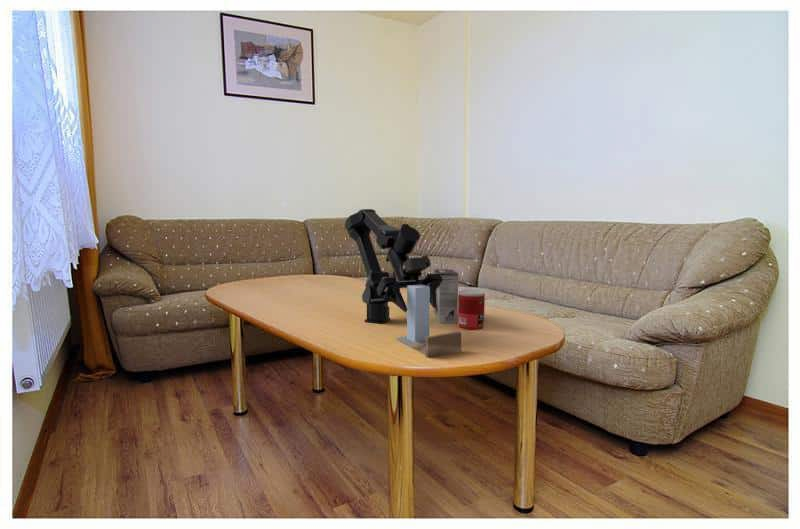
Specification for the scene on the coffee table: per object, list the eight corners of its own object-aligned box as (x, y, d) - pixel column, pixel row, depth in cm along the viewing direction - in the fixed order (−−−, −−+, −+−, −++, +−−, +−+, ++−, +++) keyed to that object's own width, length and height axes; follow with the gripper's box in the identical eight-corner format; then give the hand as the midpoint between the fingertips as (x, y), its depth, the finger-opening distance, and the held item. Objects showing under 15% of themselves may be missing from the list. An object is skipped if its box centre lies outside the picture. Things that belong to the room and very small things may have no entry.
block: (407, 338, 131) (407, 285, 129) (421, 336, 133) (421, 284, 131) (415, 342, 127) (415, 288, 125) (429, 340, 129) (429, 286, 127)
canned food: (483, 330, 140) (484, 294, 139) (456, 329, 142) (457, 293, 141) (484, 324, 148) (485, 290, 146) (458, 323, 149) (459, 289, 148)
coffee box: (433, 316, 158) (434, 269, 156) (452, 316, 159) (453, 269, 157) (438, 323, 149) (438, 273, 147) (458, 322, 150) (458, 272, 148)
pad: (396, 339, 132) (396, 337, 131) (423, 335, 136) (423, 333, 136) (412, 347, 124) (412, 346, 124) (440, 343, 128) (440, 341, 128)
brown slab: (410, 348, 123) (410, 329, 123) (442, 342, 128) (442, 325, 127) (427, 357, 116) (428, 337, 115) (461, 351, 120) (461, 332, 120)
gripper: (381, 247, 126) (400, 295, 117) (439, 244, 134) (461, 289, 126) (369, 273, 133) (386, 319, 125) (425, 268, 142) (445, 311, 134)
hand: (421, 309), depth 127 cm, fingers open, 9 cm apart
